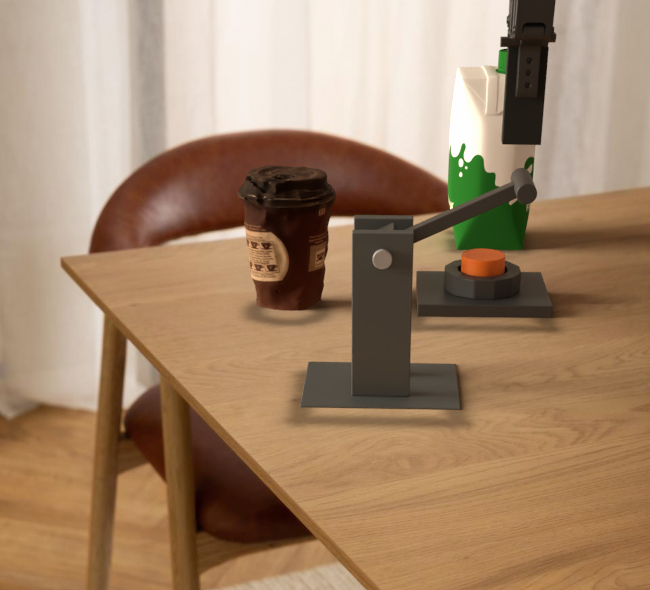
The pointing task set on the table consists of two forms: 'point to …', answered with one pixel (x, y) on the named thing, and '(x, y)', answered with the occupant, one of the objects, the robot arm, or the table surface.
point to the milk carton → (485, 159)
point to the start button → (483, 262)
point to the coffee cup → (287, 234)
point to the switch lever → (476, 206)
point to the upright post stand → (381, 332)
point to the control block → (482, 294)
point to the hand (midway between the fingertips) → (520, 142)
